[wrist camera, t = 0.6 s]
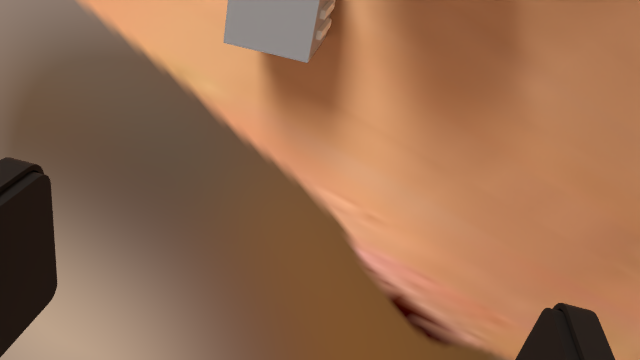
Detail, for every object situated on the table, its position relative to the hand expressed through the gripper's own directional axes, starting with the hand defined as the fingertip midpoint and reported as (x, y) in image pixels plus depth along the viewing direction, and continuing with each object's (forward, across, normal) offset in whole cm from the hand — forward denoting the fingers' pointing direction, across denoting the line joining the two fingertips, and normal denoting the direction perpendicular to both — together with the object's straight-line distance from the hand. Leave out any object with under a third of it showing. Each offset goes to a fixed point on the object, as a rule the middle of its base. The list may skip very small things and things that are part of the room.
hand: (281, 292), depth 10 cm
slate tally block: (+29, +6, 0) cm, 29 cm away
